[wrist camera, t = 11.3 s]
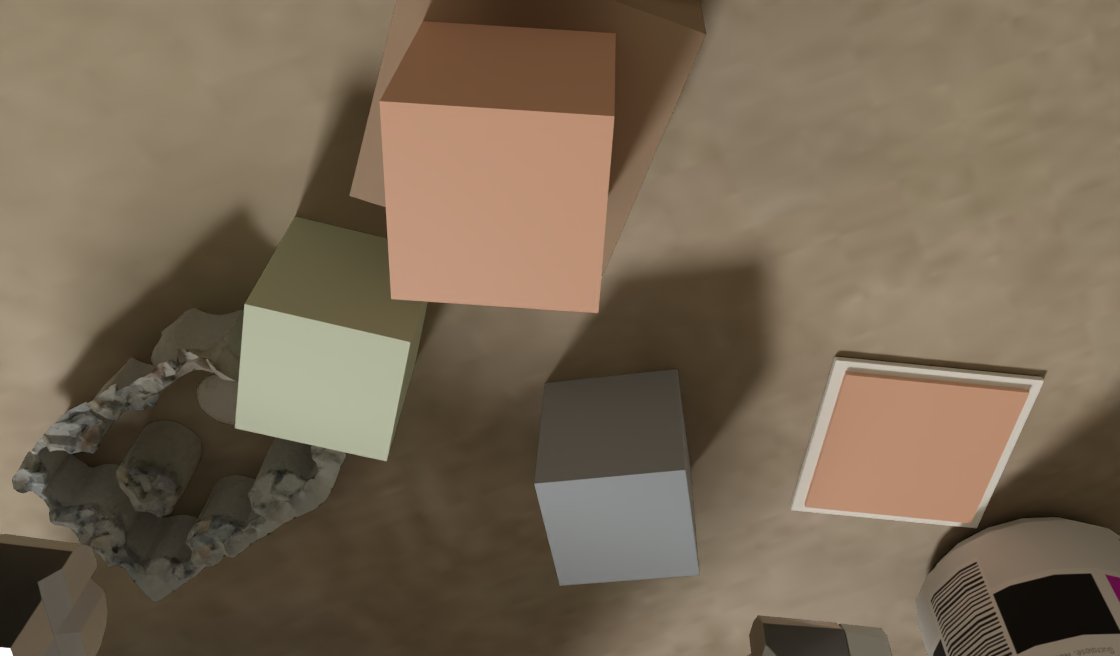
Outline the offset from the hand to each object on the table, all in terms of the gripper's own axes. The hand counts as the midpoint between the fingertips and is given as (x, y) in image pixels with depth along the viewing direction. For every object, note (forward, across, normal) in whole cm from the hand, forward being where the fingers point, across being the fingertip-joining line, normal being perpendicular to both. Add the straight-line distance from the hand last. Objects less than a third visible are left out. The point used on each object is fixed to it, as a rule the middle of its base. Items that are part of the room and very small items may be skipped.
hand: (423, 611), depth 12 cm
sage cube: (+19, -5, -8) cm, 21 cm away
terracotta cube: (+15, 0, 0) cm, 15 cm away
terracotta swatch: (+19, +14, -12) cm, 26 cm away
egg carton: (+19, -11, -14) cm, 26 cm away
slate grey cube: (+19, +4, -12) cm, 23 cm away
